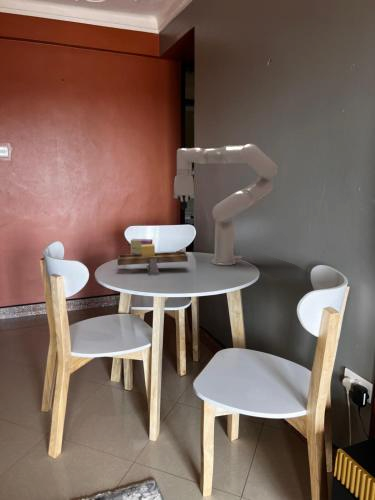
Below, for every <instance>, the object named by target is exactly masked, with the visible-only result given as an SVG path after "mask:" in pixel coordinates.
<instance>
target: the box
mask: <svg viewBox="0 0 375 500" xmlns="http://www.w3.org/2000/svg"><path fill="white" fill-rule="evenodd" d="M146 244H153V239H147V238H132V239H130V254H142V248H141V245H146Z"/></svg>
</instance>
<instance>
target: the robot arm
mask: <svg viewBox="0 0 375 500" xmlns="http://www.w3.org/2000/svg"><path fill="white" fill-rule="evenodd" d="M192 163H195V164H201V165H206V164H207V165H208V164H224V165H225V164H247V165H248V166H249V167H250V168H251V169H253V171H255V172H256V173H257V174H258V175H259V177H258V179H256V180H255V181H253V182H252V183H251V184H249V185H247V186H246V187H244V188H242V189H239V190H237V191H235V192H234V193H232V194H230V195H229V196H227V197H226V198H225V199H223V200H221V201H220V202H218V203H217V204H215V205H214V207H213V209H212V217H213V219H214V220H215V223H214V225H215V226H214V229H215V230H214V257H213V259H211V261H210V262H211V264H212V265H216V266H233V264H234V265H236V262H237V260H238V261H239V260H243V256H242V255H235V254H234V241H235V240H234V236H235V235H234V233H235V218H236V216H237V215H239V214H241V213H242V212H244V211H245V210H248V208H250V207H251V206H252V205H253V204H254V203H256V202H258V201H259V200H260V199H261V198H263V197H264V196H266V195H268V194H269V193H270V192H271V191H272V190H273V189H274V188H273V177H274V176H275V175H276V174H277V168H278V166H277V164H276V163H275V162H274V161H273V160H272V159H271V158H269V156H267V155H266V154H265V153H264V152H263V151H262V150H261V149H260V148H259V147H258V146H257V145H256V144H254V143H246V144H242V145H238V144H237V145H224V146H221V147H217V148H202V147H191V148H189V147H188V148H187V147H183V148H182V147H181V148H178V149H177V150H176V176H175V177H174V184H173V198H174V199H178V200H179V202H180V209H181V210H183V211H184V210H185V211H186V209H187V208H188V201H190V200H191V199H194V198H195V185H194V184H195V182H194V177H193V176H192V175H194V174H195V170H193V168H192V166H193V165H192ZM183 196H184V197H183Z"/></svg>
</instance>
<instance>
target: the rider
mask: <svg viewBox="0 0 375 500" xmlns="http://www.w3.org/2000/svg"><path fill="white" fill-rule="evenodd" d="M141 248H142V258H143V257H154V256H155V253H156V250H155V249H156V248H155V243H152V244H146V245H141Z"/></svg>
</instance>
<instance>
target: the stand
mask: <svg viewBox="0 0 375 500" xmlns="http://www.w3.org/2000/svg"><path fill="white" fill-rule="evenodd" d="M146 269H147V270H146V271H147V276H159V275H160V272H159V267H158V263H157V259H156V258H150V264H147V265H146Z"/></svg>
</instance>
